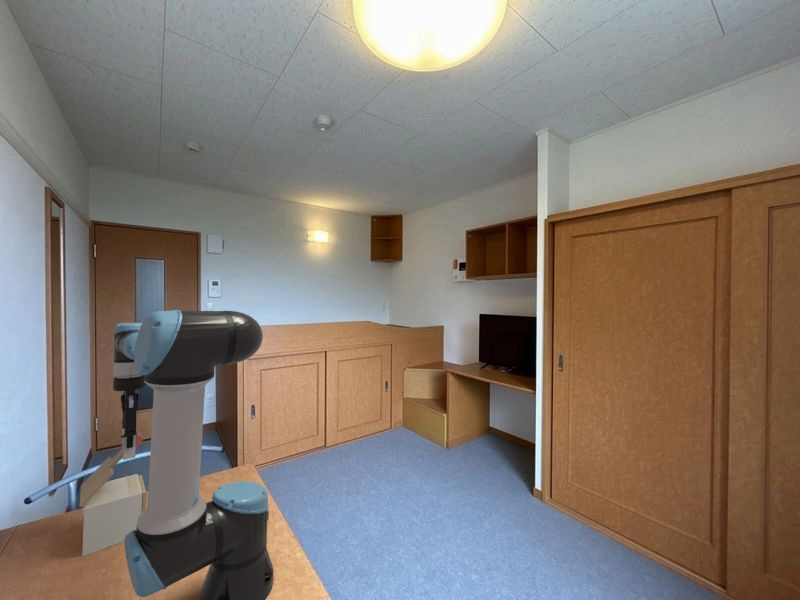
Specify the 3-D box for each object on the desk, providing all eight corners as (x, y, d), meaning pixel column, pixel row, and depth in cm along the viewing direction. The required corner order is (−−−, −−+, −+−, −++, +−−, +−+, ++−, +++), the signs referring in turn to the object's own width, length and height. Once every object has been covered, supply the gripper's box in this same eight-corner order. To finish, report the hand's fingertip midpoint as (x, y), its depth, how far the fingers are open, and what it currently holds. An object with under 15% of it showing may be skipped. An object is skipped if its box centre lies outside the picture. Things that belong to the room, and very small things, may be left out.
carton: (145, 534, 96) (146, 491, 96) (82, 556, 87) (84, 508, 87) (140, 511, 106) (141, 472, 106) (83, 528, 97) (85, 486, 98)
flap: (145, 442, 96) (138, 439, 95) (84, 508, 88) (77, 505, 87) (140, 429, 106) (134, 426, 105) (85, 487, 97) (78, 485, 96)
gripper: (149, 379, 94) (147, 461, 94) (143, 368, 109) (141, 440, 108) (114, 383, 89) (112, 470, 89) (112, 371, 104) (110, 447, 103)
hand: (128, 454), depth 99 cm, fingers closed on flap, 6 cm apart
